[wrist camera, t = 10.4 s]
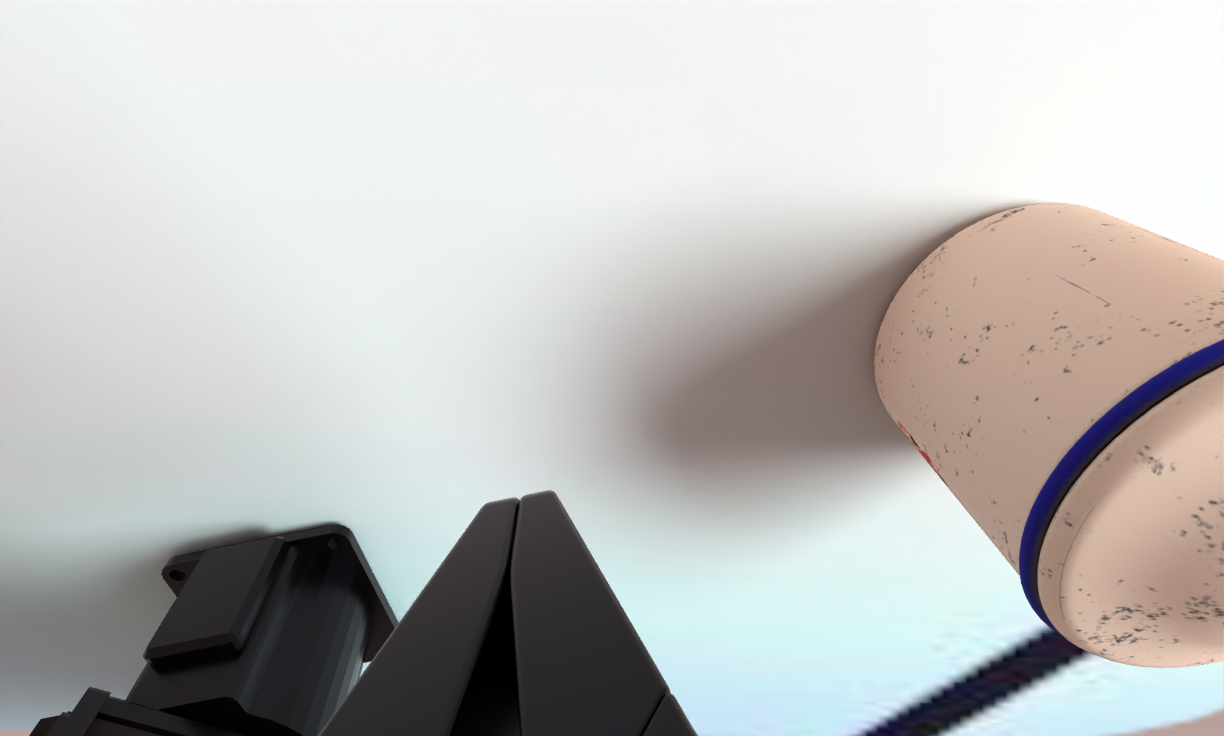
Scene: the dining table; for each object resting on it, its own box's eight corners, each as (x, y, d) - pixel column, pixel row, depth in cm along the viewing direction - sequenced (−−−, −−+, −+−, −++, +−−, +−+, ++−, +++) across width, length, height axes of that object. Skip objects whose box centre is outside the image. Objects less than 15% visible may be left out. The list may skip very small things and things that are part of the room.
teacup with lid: (827, 439, 23) (1046, 788, 13) (919, 173, 19) (1357, 387, 9) (1132, 457, 25) (1537, 780, 15) (1282, 217, 20) (2004, 441, 10)
